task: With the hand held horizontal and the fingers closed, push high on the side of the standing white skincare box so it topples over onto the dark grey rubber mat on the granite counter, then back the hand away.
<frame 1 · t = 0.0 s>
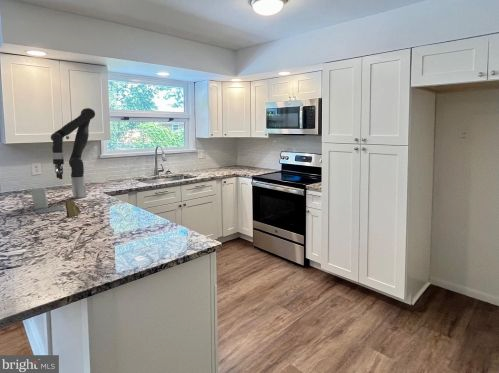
hand: (59, 178, 268), 17 cm above the worktop, tool pointing down, fingers open, 8 cm apart
rock: (74, 215, 221), on the worktop
mat: (49, 210, 235), on the worktop
skincare box: (40, 208, 242), on the worktop
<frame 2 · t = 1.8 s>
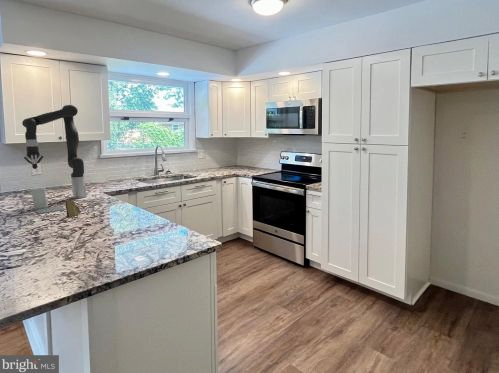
hand: (35, 168, 251), 27 cm above the worktop, tool pointing down, fingers closed
nothing on the worktop moved.
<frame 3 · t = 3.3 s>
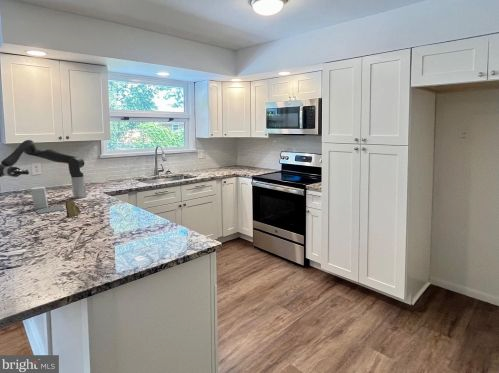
hand: (27, 172, 241), 25 cm above the worktop, tool horizontal, fingers closed
nothing on the worktop moved.
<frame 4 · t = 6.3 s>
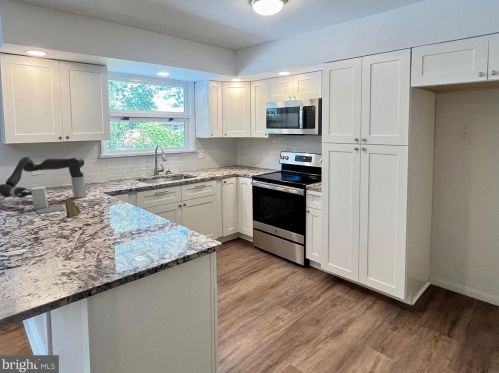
hand: (34, 193, 242), 10 cm above the worktop, tool horizontal, fingers closed
skincare box: (40, 207, 242), on the worktop, touching gripper
everything else where it was.
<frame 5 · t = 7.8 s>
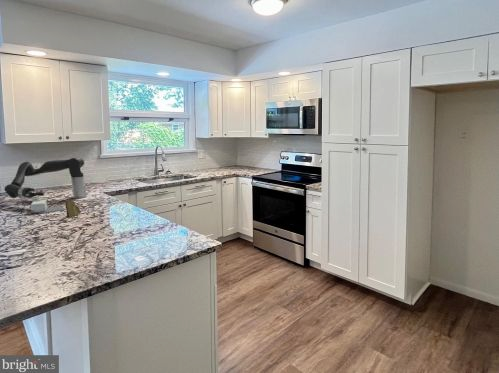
hand: (42, 194, 239), 10 cm above the worktop, tool horizontal, fingers closed
skincare box: (39, 204, 239), point 3 cm above the worktop, touching mat
everything else where it was.
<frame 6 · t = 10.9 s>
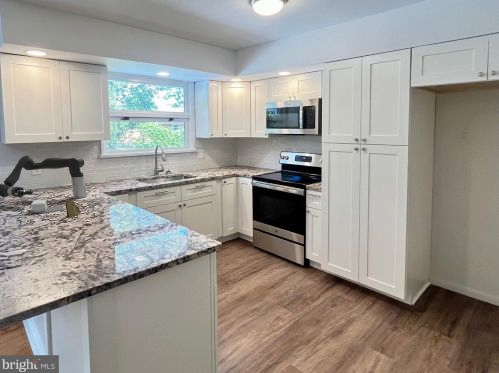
hand: (31, 193, 243), 10 cm above the worktop, tool horizontal, fingers closed
nothing on the worktop moved.
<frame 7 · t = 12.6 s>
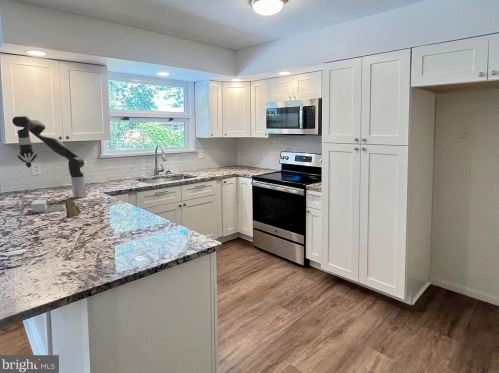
hand: (29, 167, 248), 28 cm above the worktop, tool pointing down, fingers closed
nothing on the worktop moved.
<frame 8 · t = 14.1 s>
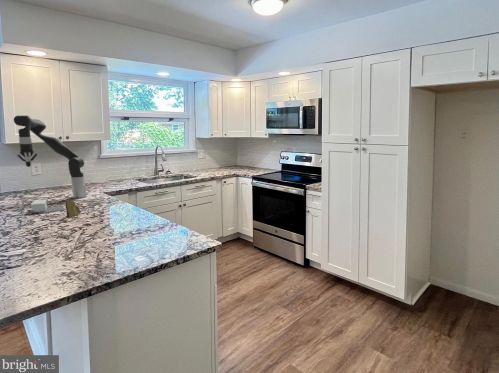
hand: (28, 166, 248), 29 cm above the worktop, tool pointing down, fingers closed
nothing on the worktop moved.
at the end: skincare box tilted 89°; skincare box inside the target area (8.1 cm from its centre), point 3.3 cm above the worktop; the gripper is holding nothing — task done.
